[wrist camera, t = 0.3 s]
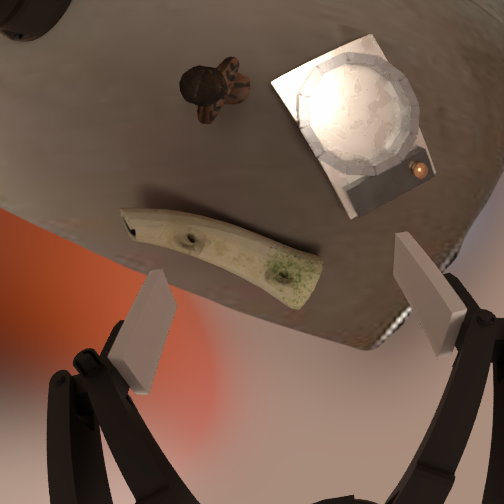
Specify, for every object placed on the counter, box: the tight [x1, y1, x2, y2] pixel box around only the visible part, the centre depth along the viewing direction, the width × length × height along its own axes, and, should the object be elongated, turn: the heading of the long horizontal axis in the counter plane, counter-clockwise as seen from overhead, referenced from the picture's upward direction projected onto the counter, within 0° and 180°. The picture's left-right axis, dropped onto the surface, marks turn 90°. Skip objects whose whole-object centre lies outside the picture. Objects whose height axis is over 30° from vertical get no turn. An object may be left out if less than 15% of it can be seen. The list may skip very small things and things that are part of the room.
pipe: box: [120, 208, 324, 310], centre depth 41 cm, size 28×8×10 cm, turn 70°
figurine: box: [180, 57, 250, 124], centre depth 27 cm, size 7×5×18 cm
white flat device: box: [270, 34, 436, 219], centre depth 33 cm, size 20×14×6 cm
